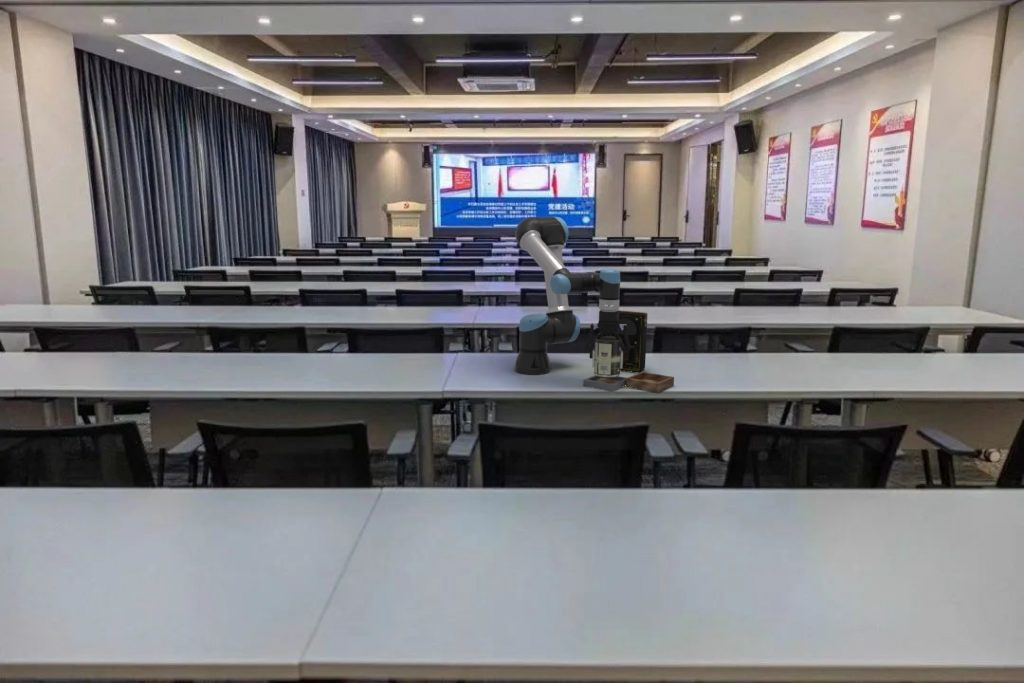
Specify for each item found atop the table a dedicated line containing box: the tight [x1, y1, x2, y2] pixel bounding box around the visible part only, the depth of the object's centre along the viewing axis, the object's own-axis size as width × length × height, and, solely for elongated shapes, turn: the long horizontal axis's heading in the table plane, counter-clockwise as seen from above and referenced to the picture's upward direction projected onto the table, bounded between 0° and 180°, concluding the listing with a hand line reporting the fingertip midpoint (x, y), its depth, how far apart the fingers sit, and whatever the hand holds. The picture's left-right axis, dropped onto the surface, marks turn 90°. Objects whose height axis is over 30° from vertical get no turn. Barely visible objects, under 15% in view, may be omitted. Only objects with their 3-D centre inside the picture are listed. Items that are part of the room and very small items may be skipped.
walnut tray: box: [625, 371, 675, 394], centre depth 264 cm, size 14×14×4 cm
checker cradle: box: [582, 374, 627, 393], centre depth 266 cm, size 13×13×2 cm
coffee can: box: [593, 335, 622, 377], centre depth 264 cm, size 10×10×14 cm
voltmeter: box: [607, 309, 648, 374], centre depth 288 cm, size 16×9×25 cm, turn 62°
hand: (607, 367), depth 265 cm, fingers closed on coffee can, 10 cm apart
